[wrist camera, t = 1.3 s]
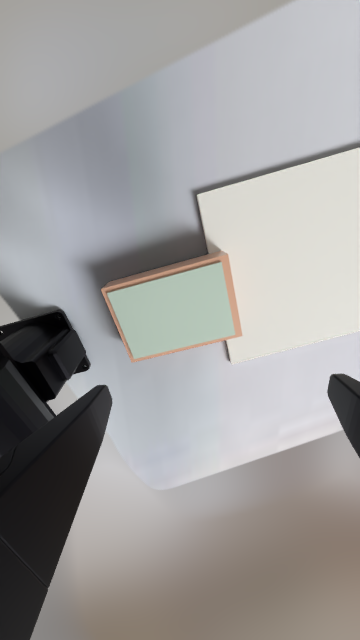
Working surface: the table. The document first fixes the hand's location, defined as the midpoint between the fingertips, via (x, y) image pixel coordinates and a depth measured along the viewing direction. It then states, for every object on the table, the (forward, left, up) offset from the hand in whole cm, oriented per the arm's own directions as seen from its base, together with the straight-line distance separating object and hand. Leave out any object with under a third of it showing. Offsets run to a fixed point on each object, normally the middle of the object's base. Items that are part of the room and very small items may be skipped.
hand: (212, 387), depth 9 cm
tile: (+4, 0, -11) cm, 11 cm away
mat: (+11, 0, -12) cm, 16 cm away
